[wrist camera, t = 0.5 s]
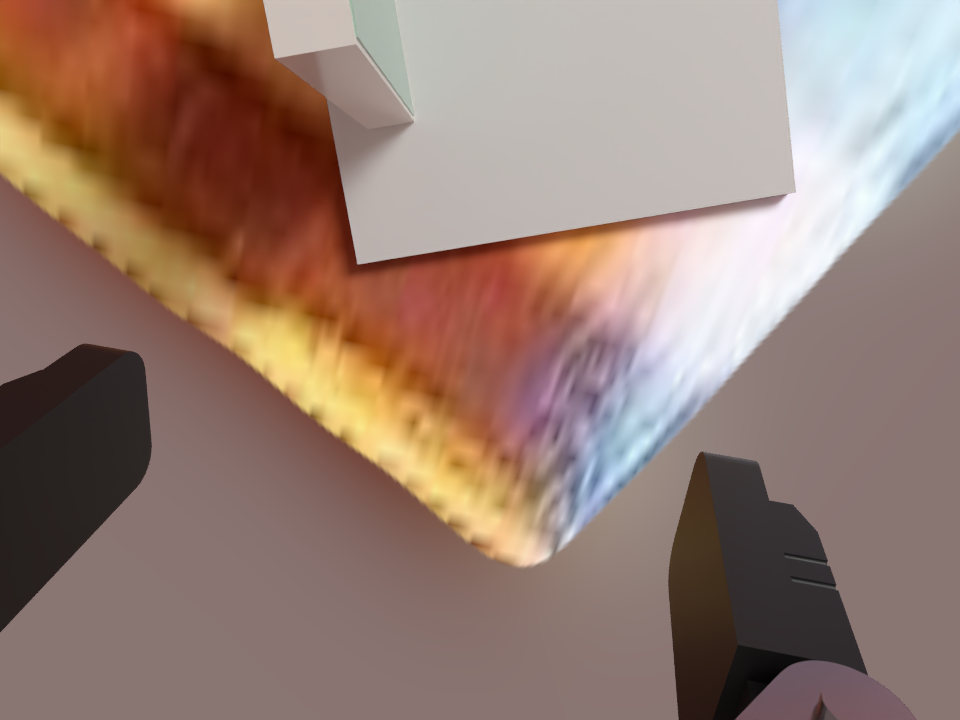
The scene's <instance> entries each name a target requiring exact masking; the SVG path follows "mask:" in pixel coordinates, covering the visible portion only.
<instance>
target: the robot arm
mask: <svg viewBox="0 0 960 720" xmlns="http://www.w3.org/2000/svg"><path fill="white" fill-rule="evenodd" d="M151 447H152V445H151V431H150V422H149V410H148V398H147V385H146V375H145V367H144V362H143V360H142V358H141V357H140V355H139V354H137V353H135V352H132V351H126V350H120V349H115V348H109V347H103V346H97V345H92V344H82V345H79V346H77V347H76V348H74V349H73V350H71V351H70V352H68V353H67V354H65V355H64V356H62V357H61V358H59V359H58V360H57V361H55V362H54V363H52V364H51V365H49V366H48V367H46V368H45V369H44V370H40V371H37V372H35V373H32V374H29V375H27V376H24V377H21V378H18V379H15V380H13V381H10V382H7V383H4V384H3V385H1V386H0V632H1V631H2V630H3V629H4V628H5V627H6V626H7V625H8V623H9V622H10V621H11V620H12V619H13V618H14V617H15V616H16V615H17V614H18V613H19V612H20V611H21V610H22V609H23V607H24V606H25V605H26V604H27V603H28V602H29V601H30V600H31V599H32V598H33V597H34V596H35V595H36V593H38V591H40V589H41V588H42V587H43V586H44V585H45V584H46V583H47V582H48V581H49V580H50V579H51V578H52V577H53V576H54V575H55V574H56V572H57V571H58V570H59V569H60V568H61V567H62V566H63V565H64V564H65V563H66V562H67V561H68V560H69V559H70V558H71V557H72V556H73V554H74V553H75V552H76V551H77V550H78V549H79V548H80V547H81V546H82V545H83V544H84V543H85V542H86V541H87V539H89V537H90V536H91V535H92V534H93V533H94V532H95V531H96V530H97V529H98V528H99V527H100V526H101V525H102V524H103V523H104V521H105V520H106V519H107V518H108V517H109V516H110V515H111V514H112V513H113V512H114V511H115V510H116V509H117V508H118V507H119V506H120V504H121V503H122V502H123V501H124V500H125V499H126V498H127V497H128V496H129V495H130V494H131V493H132V492H133V491H134V490H135V489H136V488H137V486H138V485H139V484H140V482H141V481H142V479H143V477H144V475H145V473H146V470H147V468H148V465H149V461H150V457H151ZM827 561H828V560H827V557H826V554H825V552H824V549H823V546H822V543H821V540H820V538H819V535H818V532H817V531H816V530H815V529H814V528H813V526H812V525H811V524H810V523H809V522H808V521H807V520H806V519H805V518H804V517H803V515H802V514H801V513H800V512H799V511H798V510H797V509H796V508H795V507H794V505H791V504H785V503H780V502H774V501H769V498H768V495H767V491H766V488H765V484H764V480H763V477H762V473H761V470H760V467H759V464H758V462H756V461H753V460H747V459H741V458H735V457H730V456H724V455H718V454H712V453H707V452H700V453H699V455H698V457H697V459H696V462H695V465H694V468H693V472H692V476H691V480H690V483H689V487H688V491H687V494H686V498H685V502H684V505H683V509H682V513H681V516H680V520H679V524H678V527H677V531H676V535H675V538H674V543H673V547H672V552H671V558H670V567H669V580H668V582H669V601H670V614H671V626H672V638H673V652H674V665H675V678H676V691H677V703H678V716H679V720H916V718H915V717H914V715H913V714H912V713H911V711H910V710H909V708H908V707H907V706H906V705H905V704H904V703H903V702H902V701H901V700H900V699H899V698H898V697H897V696H896V695H895V694H893V693H892V692H891V691H890V690H889V689H888V688H886V687H885V686H883V685H882V684H880V683H879V682H878V681H876V680H874V679H873V678H871V677H869V676H868V674H867V671H866V668H865V665H864V662H863V659H862V657H861V654H860V652H859V648H858V645H857V643H856V640H855V637H854V634H853V631H852V628H851V625H850V623H849V620H848V617H847V614H846V611H845V608H844V606H843V603H842V600H841V597H840V594H839V591H837V590H835V586H836V583H835V580H834V577H833V574H832V572H831V569H830V567H829V566H827Z"/></svg>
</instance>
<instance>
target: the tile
mask: <svg viewBox="0 0 960 720" xmlns="http://www.w3.org/2000/svg"><path fill="white" fill-rule="evenodd" d="M263 2H264V7H265V12H266V17H267V22H268V28H269V33H270V38H271V43H272V48H273V53H274V58H275V59H276V60H277V61H278V62H280V63H281V64H282V65H284V66H285V67H286V68H288V69H289V70H290V71H292V72H293V73H294V74H296V75H297V76H298V77H299V78H301V79H302V80H303V81H305V82H306V83H307V84H309V85H310V86H311V87H313V88H314V89H315V90H317V91H318V92H319V93H320V94H322V95H323V96H324V97H326V98H327V99H328V100H330V101H331V102H332V103H334V104H335V105H336V106H338V107H339V108H340V109H341V110H343V111H344V112H345V113H347V114H348V115H349V116H351V117H352V118H353V119H355V120H356V121H357V122H359V123H360V124H361V125H363V126H364V127H365V128H366V129H368V130H370V129H375V128H381V127H387V126H393V125H399V124H405V123H410V122H415V121H414V110H413V104H412V98H411V92H410V87H409V81H408V75H407V69H406V63H405V57H404V51H403V46H402V40H401V34H400V28H399V22H398V16H397V10H396V5H395V0H263Z"/></svg>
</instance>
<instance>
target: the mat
mask: <svg viewBox="0 0 960 720" xmlns="http://www.w3.org/2000/svg"><path fill="white" fill-rule="evenodd" d="M395 5H396V10H397V16H398V22H399V28H400V34H401V40H402V46H403V51H404V57H405V63H406V69H407V75H408V81H409V87H410V92H411V98H412V104H413V110H414V121H415V122H410V123H405V124H399V125H393V126H387V127H381V128H375V129H370V130H368V129H366V128H365V127H364V126H363V125H361V124H360V123H359V122H357V121H356V120H355V119H353V118H352V117H351V116H349V115H348V114H347V113H345V112H344V111H343V110H341V109H340V108H339V107H338V106H336V105H335V104H334V103H332V102H331V101H330V100H328V99H327V98H326V99H327V104H328V110H329V115H330V120H331V126H332V131H333V137H334V142H335V147H336V153H337V158H338V163H339V169H340V174H341V179H342V185H343V190H344V195H345V201H346V206H347V211H348V217H349V222H350V227H351V233H352V238H353V243H354V249H355V254H356V259H357V265H358V264H364V263H370V262H376V261H382V260H389V259H395V258H401V257H407V256H413V255H419V254H425V253H431V252H437V251H443V250H449V249H455V248H461V247H467V246H473V245H480V244H486V243H492V242H498V241H504V240H510V239H516V238H522V237H528V236H534V235H540V234H546V233H552V232H558V231H564V230H571V229H577V228H583V227H589V226H595V225H601V224H607V223H613V222H619V221H625V220H631V219H637V218H643V217H649V216H655V215H661V214H668V213H674V212H680V211H686V210H692V209H698V208H704V207H710V206H716V205H722V204H728V203H734V202H740V201H746V200H752V199H759V198H765V197H771V196H777V195H783V194H789V193H795V192H796V190H795V180H794V169H793V159H792V149H791V138H790V128H789V118H788V108H787V97H786V87H785V77H784V66H783V56H782V46H781V36H780V25H779V15H778V5H777V0H395Z"/></svg>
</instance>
